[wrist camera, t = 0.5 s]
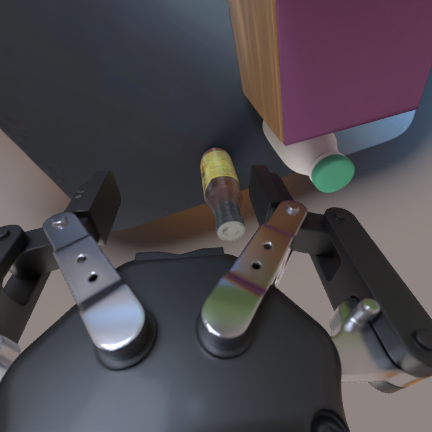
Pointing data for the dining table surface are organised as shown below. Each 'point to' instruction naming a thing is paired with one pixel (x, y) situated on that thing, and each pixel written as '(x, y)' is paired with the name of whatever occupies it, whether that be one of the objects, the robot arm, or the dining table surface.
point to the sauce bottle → (222, 193)
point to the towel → (350, 62)
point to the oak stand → (259, 58)
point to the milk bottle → (315, 160)
